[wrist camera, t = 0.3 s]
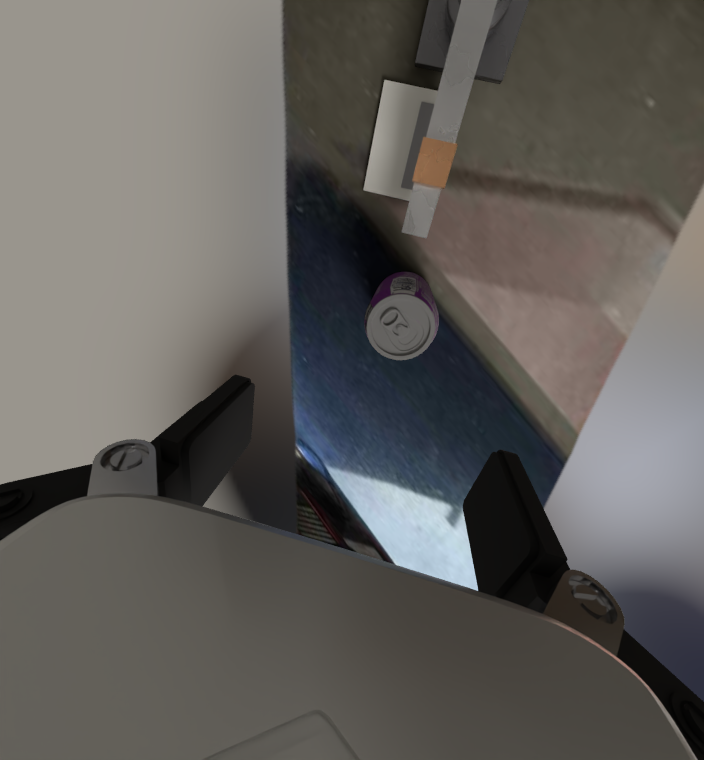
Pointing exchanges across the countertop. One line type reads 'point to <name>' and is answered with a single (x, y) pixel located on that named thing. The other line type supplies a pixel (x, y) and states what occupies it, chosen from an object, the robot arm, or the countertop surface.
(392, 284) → the beverage can
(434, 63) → the pivot pedestal
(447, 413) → the countertop surface
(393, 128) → the label plate
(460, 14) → the grey long bar
